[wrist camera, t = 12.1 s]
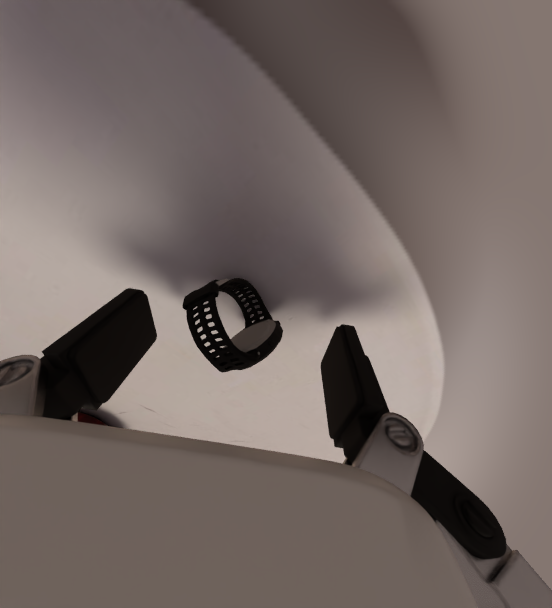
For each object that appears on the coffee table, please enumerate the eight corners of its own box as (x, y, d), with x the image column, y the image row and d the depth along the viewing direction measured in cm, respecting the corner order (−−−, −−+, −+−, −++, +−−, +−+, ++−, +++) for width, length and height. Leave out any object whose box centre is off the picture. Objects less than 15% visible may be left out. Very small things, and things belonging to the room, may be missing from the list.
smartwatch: (228, 325, 14) (203, 390, 10) (204, 256, 12) (155, 309, 7) (287, 322, 14) (284, 389, 10) (276, 248, 11) (266, 301, 7)
